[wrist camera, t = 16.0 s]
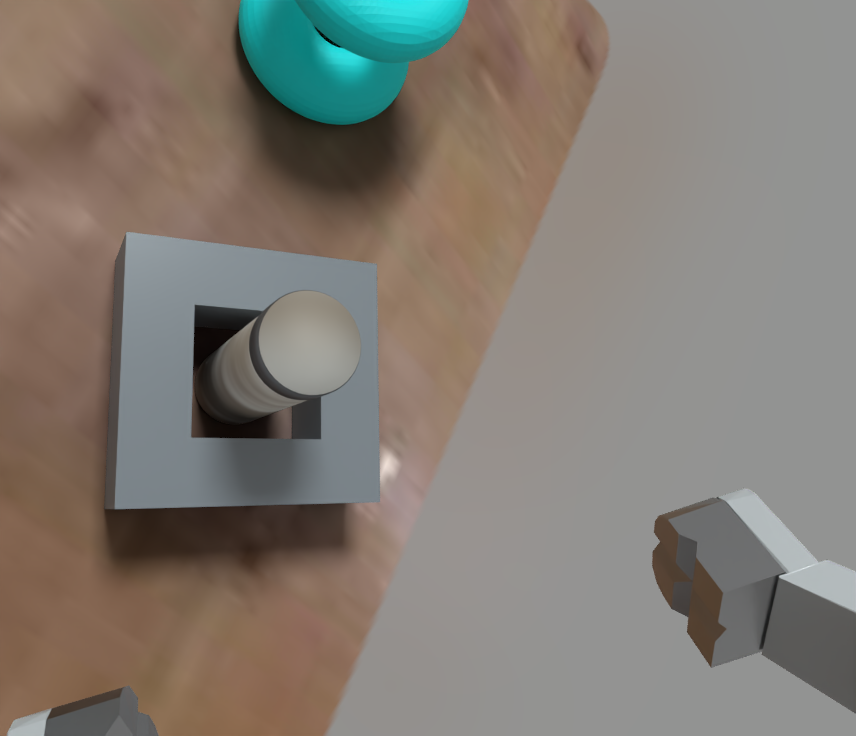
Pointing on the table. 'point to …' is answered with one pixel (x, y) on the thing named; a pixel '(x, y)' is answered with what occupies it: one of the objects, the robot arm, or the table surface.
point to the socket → (173, 378)
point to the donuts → (342, 50)
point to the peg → (280, 359)
